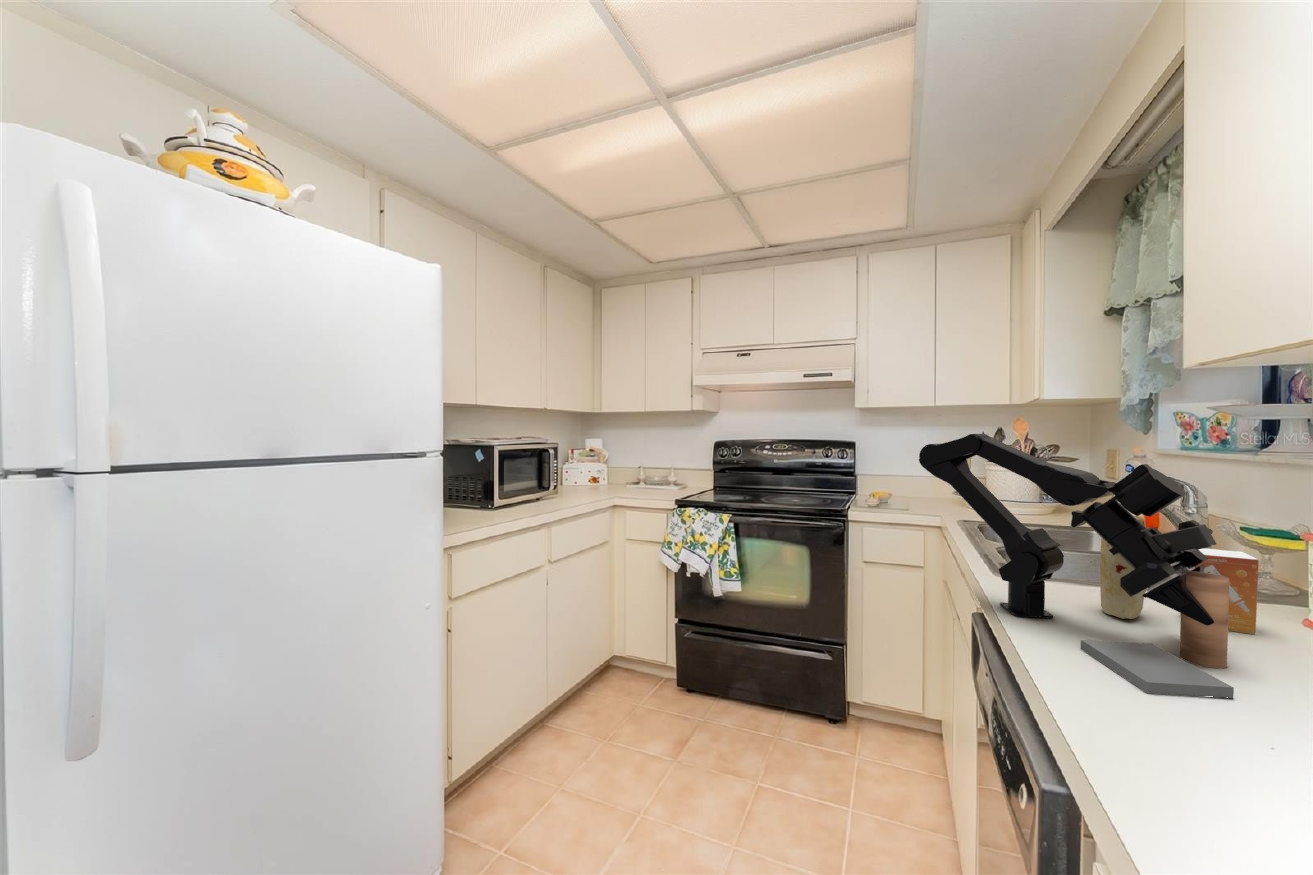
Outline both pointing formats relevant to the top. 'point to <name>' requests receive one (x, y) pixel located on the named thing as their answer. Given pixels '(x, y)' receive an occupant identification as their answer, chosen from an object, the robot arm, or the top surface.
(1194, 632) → the banded brown cylinder
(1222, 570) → the small box
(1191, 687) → the slate board
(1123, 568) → the food model
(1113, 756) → the top surface
